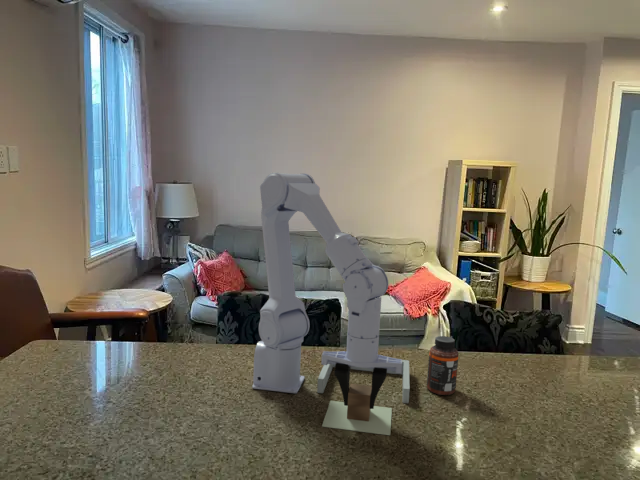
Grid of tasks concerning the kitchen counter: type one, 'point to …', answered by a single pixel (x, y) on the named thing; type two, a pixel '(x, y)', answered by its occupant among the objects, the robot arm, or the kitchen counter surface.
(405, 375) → the u-shaped barrier
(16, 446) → the kitchen counter surface
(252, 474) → the kitchen counter surface
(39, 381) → the kitchen counter surface
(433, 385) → the supplement bottle
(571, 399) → the kitchen counter surface
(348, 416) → the block
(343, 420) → the mat
